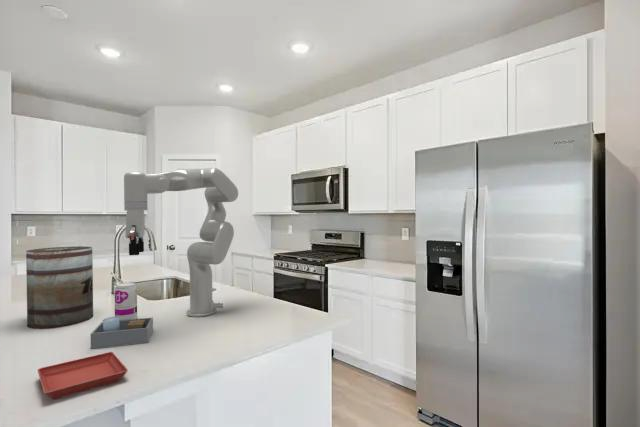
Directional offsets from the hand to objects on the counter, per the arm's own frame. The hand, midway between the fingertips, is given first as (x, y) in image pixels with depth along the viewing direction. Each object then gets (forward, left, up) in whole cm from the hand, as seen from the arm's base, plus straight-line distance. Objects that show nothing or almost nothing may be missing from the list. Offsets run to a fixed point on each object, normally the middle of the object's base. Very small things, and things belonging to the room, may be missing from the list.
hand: (136, 253), depth 130 cm
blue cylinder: (+8, +2, -30) cm, 31 cm away
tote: (+4, +2, -30) cm, 30 cm away
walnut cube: (0, +2, -30) cm, 30 cm away
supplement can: (+8, -23, -30) cm, 39 cm away
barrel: (+34, -32, -30) cm, 56 cm away
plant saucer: (+8, +33, -31) cm, 46 cm away
